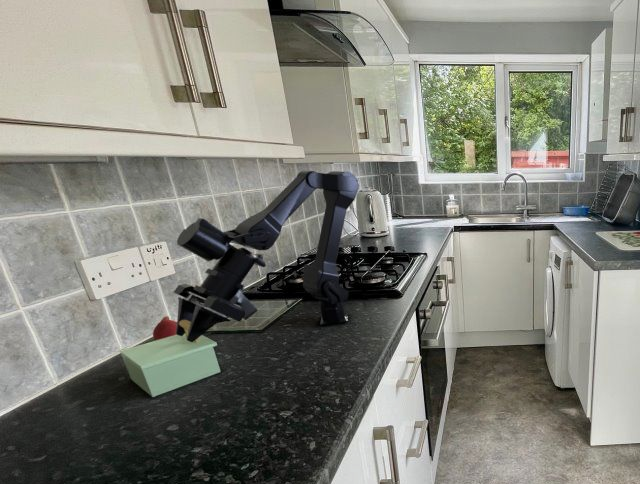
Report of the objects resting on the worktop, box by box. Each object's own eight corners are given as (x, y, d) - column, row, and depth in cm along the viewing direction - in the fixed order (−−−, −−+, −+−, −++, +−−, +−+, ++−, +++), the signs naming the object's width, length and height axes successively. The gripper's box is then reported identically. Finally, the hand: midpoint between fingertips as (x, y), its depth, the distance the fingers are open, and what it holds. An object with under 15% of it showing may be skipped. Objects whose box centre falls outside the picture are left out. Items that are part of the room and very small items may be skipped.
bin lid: (193, 332, 89) (187, 313, 87) (217, 345, 83) (211, 325, 81) (120, 354, 79) (112, 332, 77) (141, 370, 73) (133, 347, 72)
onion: (173, 355, 91) (161, 322, 88) (152, 353, 92) (140, 320, 89) (196, 344, 96) (186, 313, 93) (176, 342, 97) (166, 311, 94)
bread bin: (197, 357, 90) (189, 334, 88) (220, 372, 84) (213, 347, 82) (131, 379, 81) (121, 354, 79) (152, 397, 75) (141, 370, 73)
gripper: (284, 299, 88) (243, 364, 84) (243, 285, 98) (204, 342, 94) (236, 271, 79) (187, 343, 75) (195, 259, 89) (150, 322, 85)
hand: (184, 338), depth 82 cm, fingers closed on bin lid, 5 cm apart
